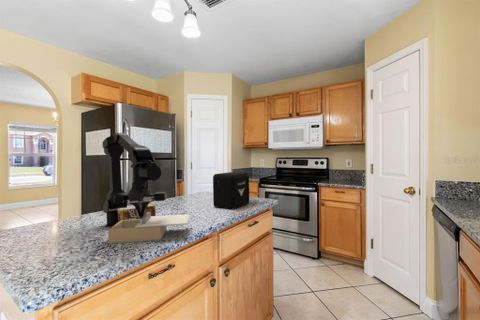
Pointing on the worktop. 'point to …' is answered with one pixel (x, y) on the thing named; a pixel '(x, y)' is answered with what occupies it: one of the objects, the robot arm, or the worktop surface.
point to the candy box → (133, 213)
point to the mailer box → (134, 232)
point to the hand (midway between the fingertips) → (141, 218)
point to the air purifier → (230, 190)
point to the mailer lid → (162, 220)
